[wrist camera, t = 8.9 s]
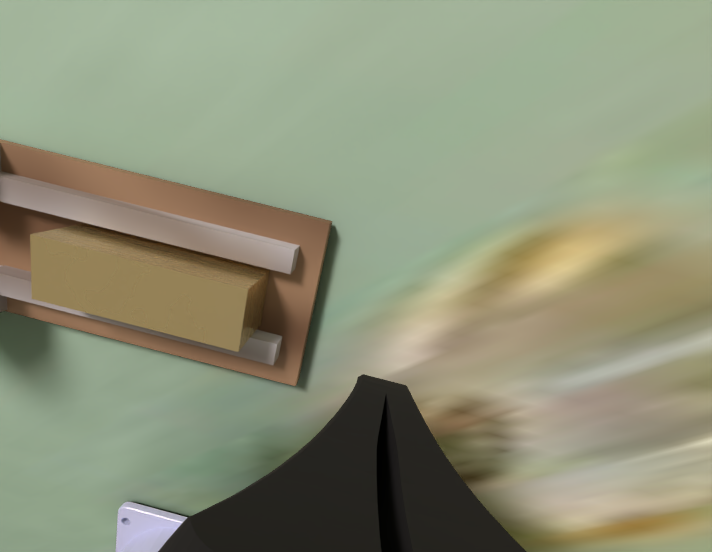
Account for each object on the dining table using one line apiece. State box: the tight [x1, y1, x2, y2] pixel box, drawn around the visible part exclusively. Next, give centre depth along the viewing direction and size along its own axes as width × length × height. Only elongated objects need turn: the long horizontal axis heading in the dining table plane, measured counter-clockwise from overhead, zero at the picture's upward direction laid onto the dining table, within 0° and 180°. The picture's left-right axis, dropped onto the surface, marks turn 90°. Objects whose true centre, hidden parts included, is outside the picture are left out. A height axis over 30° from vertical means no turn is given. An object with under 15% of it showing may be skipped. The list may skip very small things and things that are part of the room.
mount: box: [0, 139, 332, 386], centre depth 16 cm, size 8×21×3 cm, turn 77°
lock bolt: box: [30, 223, 270, 352], centre depth 15 cm, size 2×8×2 cm, turn 77°
